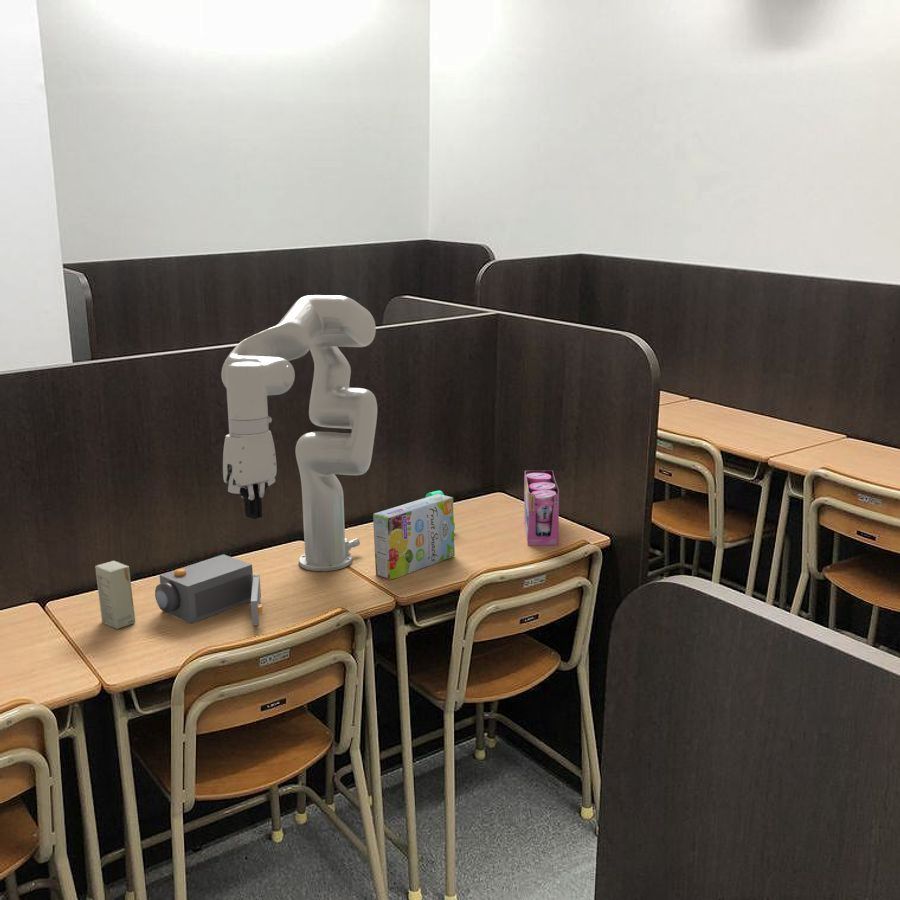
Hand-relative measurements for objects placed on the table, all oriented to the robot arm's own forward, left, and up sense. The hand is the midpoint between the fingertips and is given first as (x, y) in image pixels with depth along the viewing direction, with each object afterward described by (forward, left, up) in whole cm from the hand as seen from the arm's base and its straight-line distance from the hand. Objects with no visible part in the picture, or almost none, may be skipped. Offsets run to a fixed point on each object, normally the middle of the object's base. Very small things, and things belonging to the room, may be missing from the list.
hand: (253, 516), depth 187 cm
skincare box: (+19, -22, -22) cm, 36 cm away
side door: (-2, -3, -21) cm, 22 cm away
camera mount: (-64, -12, -23) cm, 69 cm away
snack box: (-43, +3, -22) cm, 49 cm away
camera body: (+3, -15, -22) cm, 27 cm away
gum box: (-82, +11, -22) cm, 86 cm away
